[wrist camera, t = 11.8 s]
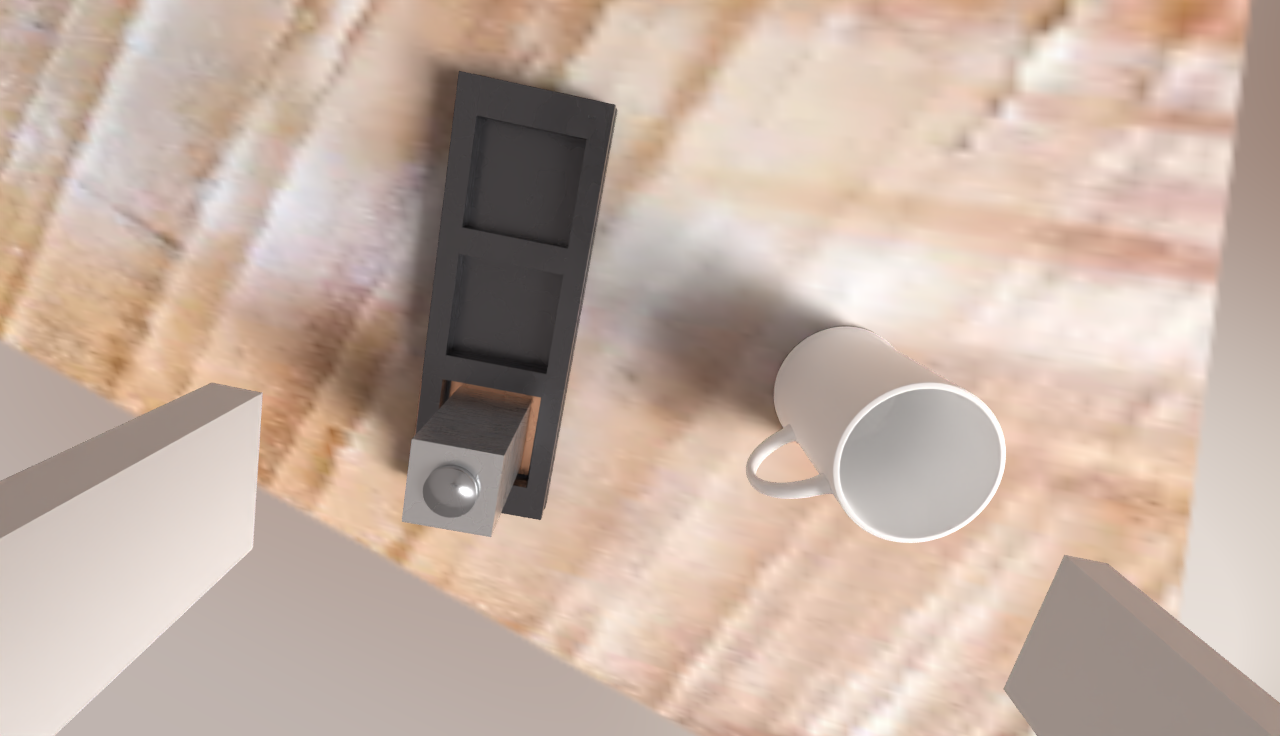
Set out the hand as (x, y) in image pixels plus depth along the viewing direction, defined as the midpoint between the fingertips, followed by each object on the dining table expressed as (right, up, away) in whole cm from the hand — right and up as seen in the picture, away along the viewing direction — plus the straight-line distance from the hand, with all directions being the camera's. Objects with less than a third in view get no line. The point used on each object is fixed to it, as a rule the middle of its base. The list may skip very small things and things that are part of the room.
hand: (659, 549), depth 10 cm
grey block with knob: (-10, -1, +30) cm, 32 cm away
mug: (+11, +1, +31) cm, 33 cm away
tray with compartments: (-8, +7, +29) cm, 31 cm away
